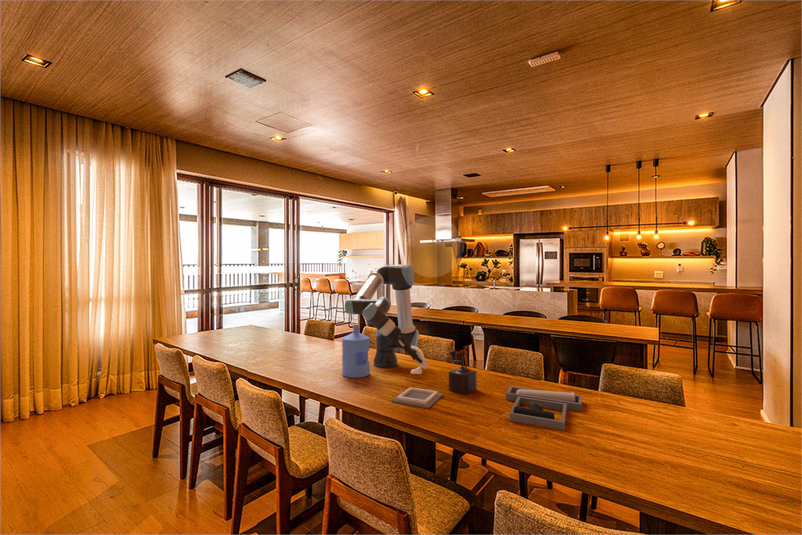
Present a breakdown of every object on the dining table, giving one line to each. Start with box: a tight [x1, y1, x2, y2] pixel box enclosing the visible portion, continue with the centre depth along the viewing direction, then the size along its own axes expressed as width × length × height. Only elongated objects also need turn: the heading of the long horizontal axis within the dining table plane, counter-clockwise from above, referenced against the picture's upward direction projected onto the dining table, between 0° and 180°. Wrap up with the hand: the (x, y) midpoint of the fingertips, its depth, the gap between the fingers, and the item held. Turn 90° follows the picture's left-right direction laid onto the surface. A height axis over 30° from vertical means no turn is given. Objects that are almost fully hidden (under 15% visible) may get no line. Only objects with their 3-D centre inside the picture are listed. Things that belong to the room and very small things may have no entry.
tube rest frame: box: [505, 385, 583, 412], centre depth 172 cm, size 11×31×3 cm, turn 64°
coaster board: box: [391, 386, 444, 409], centre depth 175 cm, size 18×18×2 cm
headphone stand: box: [410, 346, 425, 375], centre depth 175 cm, size 5×6×12 cm
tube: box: [516, 389, 576, 403], centre depth 171 cm, size 5×5×25 cm
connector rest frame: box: [508, 396, 568, 431], centre depth 155 cm, size 21×20×3 cm
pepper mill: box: [448, 349, 478, 395], centre depth 189 cm, size 16×11×18 cm
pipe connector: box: [513, 402, 556, 420], centre depth 153 cm, size 12×5×15 cm
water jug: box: [341, 324, 371, 379], centre depth 214 cm, size 16×16×28 cm
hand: (425, 365), depth 175 cm, fingers closed on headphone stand, 5 cm apart
